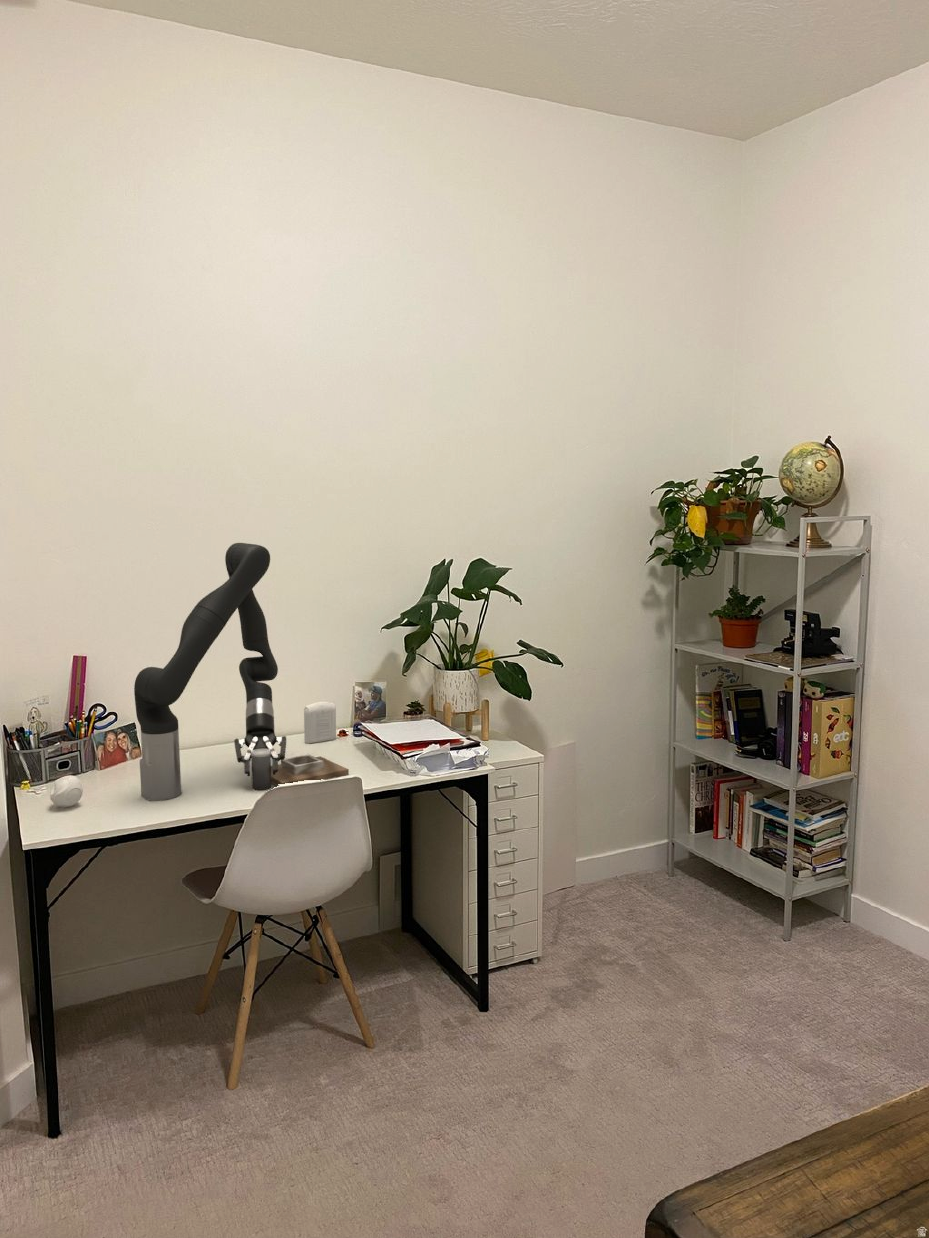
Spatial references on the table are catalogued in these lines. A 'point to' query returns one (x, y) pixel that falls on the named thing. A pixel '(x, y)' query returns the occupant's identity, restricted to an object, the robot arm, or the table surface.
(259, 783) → the dark grey cylinder
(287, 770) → the mount board
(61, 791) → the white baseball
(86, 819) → the table surface
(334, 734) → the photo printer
